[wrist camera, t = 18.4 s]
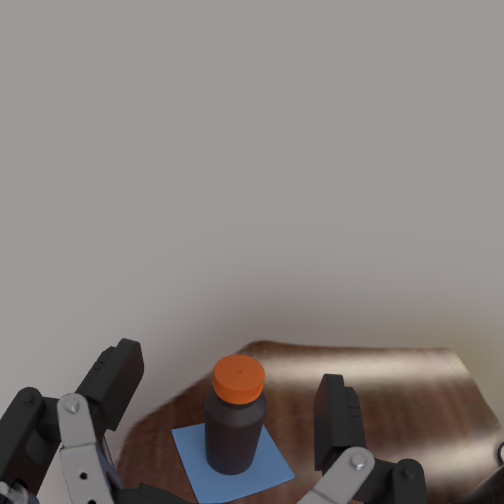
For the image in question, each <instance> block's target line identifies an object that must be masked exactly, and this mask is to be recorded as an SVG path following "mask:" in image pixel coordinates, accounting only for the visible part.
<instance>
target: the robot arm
mask: <svg viewBox="0 0 504 504" xmlns="http://www.w3.org/2000/svg"><path fill="white" fill-rule="evenodd" d="M143 373H144V362H143V357H142V352H141V346H140V343H139V342H137V341H133V340H129V339H125V338H123V339H121V341H120V342H119V344H118V345H117V347H112V346H111V347H109V348H108V349H106V350H105V351H103V352H102V353H101V355H100V356H99V358H98V359H97V362H95V363H94V365H93V366H92V368H91V369H90V371H89V372H88V374H87V375H86V377H85V378H84V380H83V381H82V383H81V384H80V386H79V387H78V389H77V390H76V391H75V393H69V394H66V395H64V396H62V397H61V398H60V399H56V398H49V397H42V395H41V394H40V392H39V391H38V390H37V389H35V388H33V387H26V388H24V389H22V390H20V391H19V392H18V393H17V395H16V397H15V398H14V399H13V401H12V402H11V404H10V406H9V407H8V408H7V410H6V412H5V413H4V415H3V416H2V418H1V420H0V504H39V501H38V499H37V497H36V496H37V494H38V491H39V489H40V486H41V484H42V482H43V480H44V477H45V475H46V473H47V470H48V468H49V466H50V464H51V462H52V459H53V457H54V455H55V453H56V451H57V449H58V447H59V445H60V443H61V442H62V445H63V447H62V448H60V450H59V452H60V459H61V463H62V468H63V472H64V477H65V481H66V485H67V489H68V492H69V496H70V499H71V503H72V504H195V503H190V502H188V501H186V500H183V499H181V498H179V497H177V496H175V495H173V494H171V493H170V492H168V491H166V490H162V489H159V488H155V487H152V486H149V485H146V484H143V483H140V486H139V488H137V487H129V488H124V487H123V485H122V482H121V480H120V478H119V476H118V474H117V472H116V470H115V467H114V464H113V462H112V458H111V455H110V452H109V449H108V446H107V443H106V439H105V436H104V434H105V432H106V429H109V430H112V431H116V429H117V427H118V425H119V422H120V420H121V418H122V416H123V414H124V412H125V410H126V408H127V406H128V404H129V402H130V400H131V398H132V396H133V394H134V392H135V390H136V388H137V387H138V385H139V383H140V381H141V379H142V376H143ZM314 444H315V471H322V478H321V479H320V480H319V481H318V482H317V483H316V485H315V486H314V487H313V488H312V489H311V490H310V491H309V492H308V493H307V494H306V495H305V496H304V497H303V498H302V499H301V500H300V501H299V502H298V503H297V504H348V503H349V501H350V500H351V499H352V500H356V501H360V502H364V504H428V501H427V493H426V485H425V478H424V471H423V468H422V466H421V464H420V463H419V462H417V461H416V460H413V459H403V460H400V461H399V462H398V463H397V464H396V463H391V462H387V461H382V460H379V459H377V458H375V457H373V455H372V454H371V452H370V451H368V450H367V447H366V443H365V436H364V429H363V423H362V417H361V410H360V404H359V399H358V396H357V394H356V392H355V391H354V389H353V388H352V387H344V380H343V376H342V375H338V374H324V375H323V378H322V380H321V383H320V385H319V388H318V390H317V393H316V395H315V399H314ZM503 446H504V442H503V443H502V444H501V445H500V447H499V448H498V452H497V456H498V460H499V462H500V464H501V467H500V468H499V469H497V470H496V471H495V472H494V473H492V474H491V475H490V476H489V477H487V478H486V479H485V480H483V481H482V482H481V483H479V484H478V485H477V486H475V487H474V488H472V489H471V490H469V491H468V492H467V493H465V494H464V495H462V496H461V497H459V498H457V499H456V500H454V501H453V502H451V503H449V504H504V462H503V460H502V457H501V449H502V447H503ZM206 504H224V503H206Z"/></svg>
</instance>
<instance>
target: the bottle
mask: <svg viewBox="0 0 504 504" xmlns="http://www.w3.org/2000/svg"><path fill="white" fill-rule="evenodd" d="M263 369H264V368H263V367H262V365H261V364H260V363H259V362H258V361H257V360H255V359H253V358H251V357H248V356H246V355H230V356H227V357H224V358H222V359H220V360H219V361H218V362H217V363H216V365H215V367H214V370H213V386H211V387H210V389H209V390H208V391H207V393H206V395H205V399H204V423H205V448H206V459H207V462H208V463H209V465H210V467H211V468H213V469H214V470H215V471H216V472H219V473H221V474H224V475H238V474H240V473H242V472H245V471H246V470H247V469H248V468H249V467H250V466H251V464H252V462H253V459H254V456H255V452H256V448H257V445H258V441H259V438H260V434H261V430H262V426H263V423H264V419H265V415H266V411H267V400H266V397H265V394H264V393H263V392H262V388H263V383H264V378H265V373H264V372H265V371H264V370H263Z"/></svg>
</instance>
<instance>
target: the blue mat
mask: <svg viewBox="0 0 504 504" xmlns="http://www.w3.org/2000/svg"><path fill="white" fill-rule="evenodd" d="M171 431H172V434H173V437H174V440H175V443H176V446H177V449H178V452H179V454H180V457H181V460H182V463H183V465H184V468H185V471H186V473H187V476H188V478H189V481H190V483H191V486H192V488H193V491H194V493H195V495H196V498H197V500H198V502H199V504H206V503H224V502H228V501H231V500H234V499H238V498H241V497H244V496H247V495H250V494H253V493H256V492H259V491H262V490H265V489H268V488H270V487H273V486H275V485H278V484H281V483H283V482H286V481H288V480H290V479H293V478H295V477H296V476H295V475H294V473H293V472H292V470H291V469H290V467H289V466H288V464H287V462H286V461H285V459H284V458H283V456H282V455H281V453H280V451H279V450H278V448H277V446H276V445H275V443H274V442H273V440H272V438H271V437H270V435H269V433H268V432H267V430H266V428H265V427H264V425H263V426H262V430H261V434H260V438H259V441H258V445H257V448H256V452H255V456H254V459H253V462H252V464H251V466H250V467H249V468H248V469H247V470H246V471H245V472H242V473H240V474H238V475H224V474H221V473H219V472H216V471H215V470H214V469H213V468H211V467H210V465H209V463H208V462H207V459H206V448H205V423H202V424H198V425H193V426H188V427H183V428H178V429H173V430H171Z"/></svg>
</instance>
